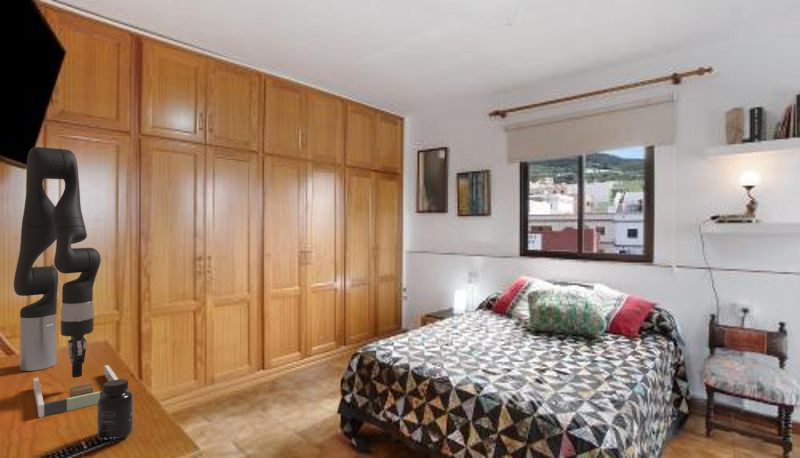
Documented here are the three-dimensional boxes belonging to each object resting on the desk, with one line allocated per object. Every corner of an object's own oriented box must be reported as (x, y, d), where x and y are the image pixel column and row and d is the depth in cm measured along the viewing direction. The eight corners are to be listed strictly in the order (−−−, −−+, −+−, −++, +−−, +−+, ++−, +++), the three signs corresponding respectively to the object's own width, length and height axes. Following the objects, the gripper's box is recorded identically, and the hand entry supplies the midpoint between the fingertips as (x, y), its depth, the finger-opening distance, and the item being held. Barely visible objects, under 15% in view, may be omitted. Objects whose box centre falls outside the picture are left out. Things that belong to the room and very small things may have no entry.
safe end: (66, 409, 109) (66, 398, 109) (99, 402, 114) (99, 391, 114) (66, 411, 108) (66, 399, 108) (99, 403, 113) (100, 392, 113)
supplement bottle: (139, 431, 99) (139, 380, 99) (109, 444, 93) (109, 390, 93) (121, 424, 102) (121, 375, 102) (90, 437, 96) (90, 385, 96)
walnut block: (69, 403, 114) (69, 386, 113) (90, 398, 117) (90, 382, 117) (71, 408, 110) (71, 391, 110) (92, 403, 113) (93, 387, 113)
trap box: (33, 388, 122) (33, 378, 122) (108, 374, 135) (108, 364, 134) (38, 417, 105) (38, 405, 105) (123, 397, 117) (124, 387, 117)
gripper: (58, 314, 124) (57, 372, 124) (63, 323, 114) (62, 386, 115) (89, 311, 129) (89, 367, 129) (97, 319, 119) (96, 380, 120)
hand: (76, 376), depth 122 cm, fingers closed
